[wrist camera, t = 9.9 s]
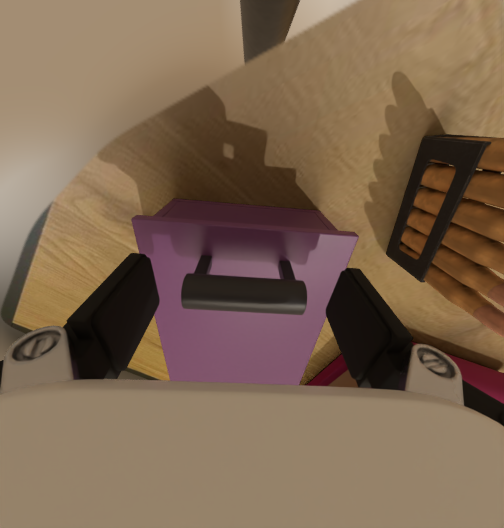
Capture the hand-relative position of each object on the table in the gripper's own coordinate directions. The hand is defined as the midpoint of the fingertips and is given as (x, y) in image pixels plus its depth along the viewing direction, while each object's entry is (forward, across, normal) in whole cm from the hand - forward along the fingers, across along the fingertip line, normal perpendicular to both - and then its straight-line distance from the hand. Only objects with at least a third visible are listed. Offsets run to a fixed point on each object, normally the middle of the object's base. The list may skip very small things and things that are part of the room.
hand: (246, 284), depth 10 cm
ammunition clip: (+11, -15, -2) cm, 19 cm away
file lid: (+4, 0, +7) cm, 8 cm away
